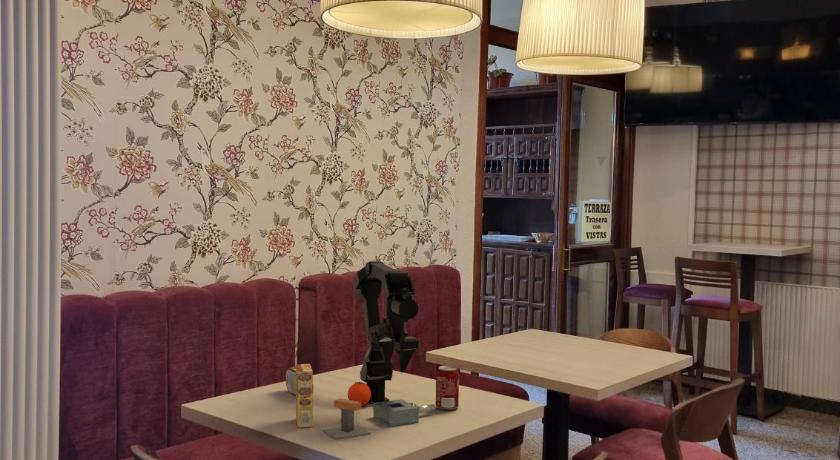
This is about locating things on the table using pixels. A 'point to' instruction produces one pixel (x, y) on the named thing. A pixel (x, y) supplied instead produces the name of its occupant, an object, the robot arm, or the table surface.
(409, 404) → the block
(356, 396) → the clementine
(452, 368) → the soda can
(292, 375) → the tin
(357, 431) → the mat
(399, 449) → the table surface
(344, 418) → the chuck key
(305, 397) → the candy box
